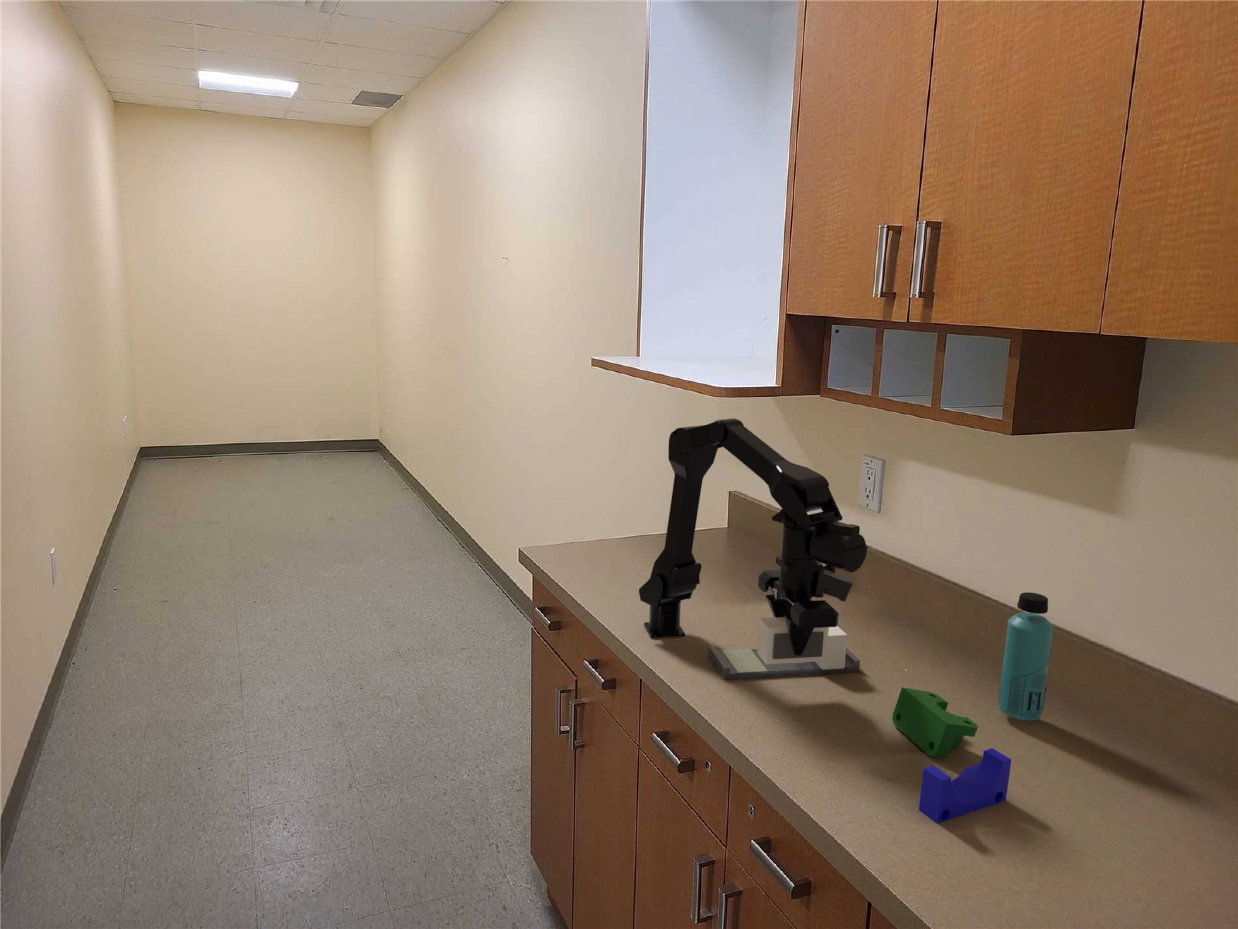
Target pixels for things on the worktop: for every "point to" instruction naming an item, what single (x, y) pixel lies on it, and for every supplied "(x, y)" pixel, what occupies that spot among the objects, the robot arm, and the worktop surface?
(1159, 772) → the worktop surface
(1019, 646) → the beverage bottle
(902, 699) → the clamp
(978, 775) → the blue bracket
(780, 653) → the white rectangular prism
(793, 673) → the rail
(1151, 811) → the worktop surface
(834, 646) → the block
